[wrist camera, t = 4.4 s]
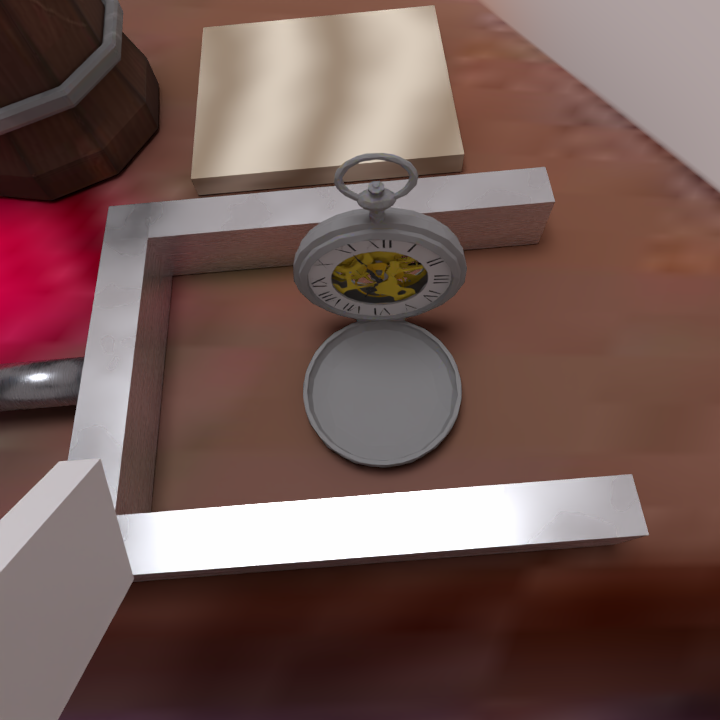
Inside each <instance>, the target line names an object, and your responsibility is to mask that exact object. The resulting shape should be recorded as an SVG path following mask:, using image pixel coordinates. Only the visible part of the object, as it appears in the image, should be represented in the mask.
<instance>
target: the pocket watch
mask: <svg viewBox="0 0 720 720" xmlns="http://www.w3.org/2000/svg"><path fill="white" fill-rule="evenodd" d="M370 160H384V161H388V162H393V163H396V164H398V165H400V166H401V167H403V168H404V169H405V170H406V171H407V172H408V174H409V181H408V182H407V184H406V185H405V187H404V188H402V189H401V190H399V191H398V192H396V193H394V192H392V191H391V190H389V189H387V188H384V184H383V183H382V182H380V181H372V182H371V183H370V184H369V185H368V189H366V190H364V191H362V192H361V193H360V194H357V193H355V192H353V191H351V190H349V189H348V188H347V187H346V186H345V184H344V182H343V179H342V178H343V176H344V175H345V173H346V172H347V171H348V169H349V168H351V167H353V166H355V165H356V164H358V163H360V162H364V161H370ZM417 180H418V173H417V170H416V169H415V167H414V166H413V165H412V164H411V162H409V161H407V160H405V159H403V158H401V157H399V156H397V155H394V154H388V153H366V154H362V155H359V156H356V157H354V158H352V159H350V160H347V161H345V162H344V163H343V164H342V165H341V166H340V167H339V168H338V169H337V171H336V173H335V177H334V184H335V186H336V188H337V189H338V190H339V191H340V192H341V193H342V194H343V195H344V196H346V197H348V198H350V199H352V200H355V201H357V203H358V205H359V206H360V207H362V208H363V209H356V210H351V211H348V212H344V213H341V214H337V215H335V216H333V217H331V218H328V219H326V220H324V221H322V222H321V223H319V224H318V225H317V226H315V227H314V228H312V229H311V230H310V231H309V232H308V233H307V235H306V236H305V237H304V238H303V239H302V241H301V243H300V246H299V248H298V250H297V252H296V254H295V260H294V266H293V270H294V282H295V283H296V285H297V287H298V289H299V291H300V292H301V293H302V294H303V295H304V296H305V297H306V298H307V299H308V300H309V301H311V302H312V303H313V304H315V305H317V306H319V307H321V308H323V309H325V310H327V311H329V312H332V313H335V314H337V315H340V316H344V317H349V318H354V319H357V322H355V323H352V324H350V325H348V326H346V327H344V328H343V329H341V330H339V331H337V332H335V333H334V334H332V335H331V336H330V337H329V338H328V339H327V340H326V341H325V342H324V343H323V344H322V345H321V346H320V347H319V349H318V350H317V351H316V352H315V354H314V356H313V358H312V360H311V362H310V364H309V366H308V368H307V371H306V375H305V380H304V385H303V398H304V403H305V409H306V413H307V416H308V419H309V422H310V424H311V426H312V427H313V428H314V430H315V431H316V432H317V434H318V435H319V437H320V438H321V439H322V440H323V442H324V443H325V444H326V446H327V447H328V448H330V449H331V450H333V451H334V452H336V453H337V454H339V455H340V456H342V457H344V458H346V459H348V460H350V461H352V462H354V463H356V464H362V465H366V466H370V467H383V468H384V467H392V466H398V465H404V464H407V463H412V462H413V461H415V460H417V459H419V458H422V457H423V456H424V455H426V454H427V453H429V452H430V451H432V450H434V449H435V448H436V447H437V446H438V445H439V444H440V443H441V442H442V441H443V439H444V438H445V437H446V436H447V435H448V434H449V432H450V430H451V429H452V427H453V425H454V423H455V421H456V419H457V417H458V412H459V407H460V403H461V394H462V390H461V379H460V376H459V372H458V368H457V365H456V363H455V361H454V359H453V357H452V355H451V354H450V352H449V351H448V350H447V349H446V347H445V346H444V345H443V343H442V342H441V341H440V340H439V339H437V338H436V337H435V336H433V335H432V334H431V333H430V332H428V331H427V330H426V329H424V328H421V327H419V326H417V325H415V324H412V323H409V322H407V321H404V320H405V318H407V317H412V316H417V315H419V314H422V313H425V312H427V311H429V310H431V309H434V308H436V307H438V306H440V305H442V304H444V303H445V302H446V301H448V300H449V299H450V298H452V297H453V296H454V295H455V294H456V293H457V291H458V290H459V289H460V287H461V286H462V285H463V284H464V282H465V276H466V270H467V267H466V261H465V256H464V251H463V248H462V246H461V245H460V242H459V240H458V238H457V236H456V235H455V234H454V233H453V232H452V231H451V230H450V229H449V228H448V227H447V226H446V225H444V224H442V223H441V222H439V221H437V220H436V219H434V218H433V217H430V216H427V215H424V214H422V213H419V212H416V211H413V210H406V209H399V208H392V207H391V206H393V205H394V203H395V202H396V199H398V198H401V197H403V196H405V195H407V194H408V193H409V192H410V191H411V190H412V189H413V188H414V187H415V186H416V185H417ZM405 255H406V256H408V258H401V256H405ZM409 257H411V258H410V259H409ZM403 259H406V261H405V260H403ZM408 259H409V260H408ZM396 260H397V261H396ZM415 260H416V261H418V262H417V263H416V261H415ZM413 261H414V262H415V263H411V262H413ZM405 262H408V263H405ZM389 264H390V266H388V265H389ZM413 267H414V268H413ZM402 268H408V269H402ZM387 269H388V270H387ZM416 269H421V271H420V272H418V273H417V274H415V275H412V274H407V273H410V272H412V271H414V270H416ZM410 270H411V271H410ZM375 271H376V272H375ZM404 271H410V272H404ZM339 272H341V273H343V274H340V273H339ZM385 272H386V273H385ZM404 273H406V274H404ZM369 274H370V275H371V276H370V277H371V279H372V280H370V278H369V277H368V276H367V275H369ZM345 275H346V276H345ZM351 275H354V276H351ZM362 277H364V278H366V279H367V280H370V281H371V282H372V281H374V282H373V283H369V284H365V283H360V282H358V279H359V278H362ZM403 277H407V278H408V279H406V280H404V278H403ZM353 279H356V280H355V281H353ZM397 279H402V280H403V281H398V280H397ZM358 321H359V322H358Z"/></svg>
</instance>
